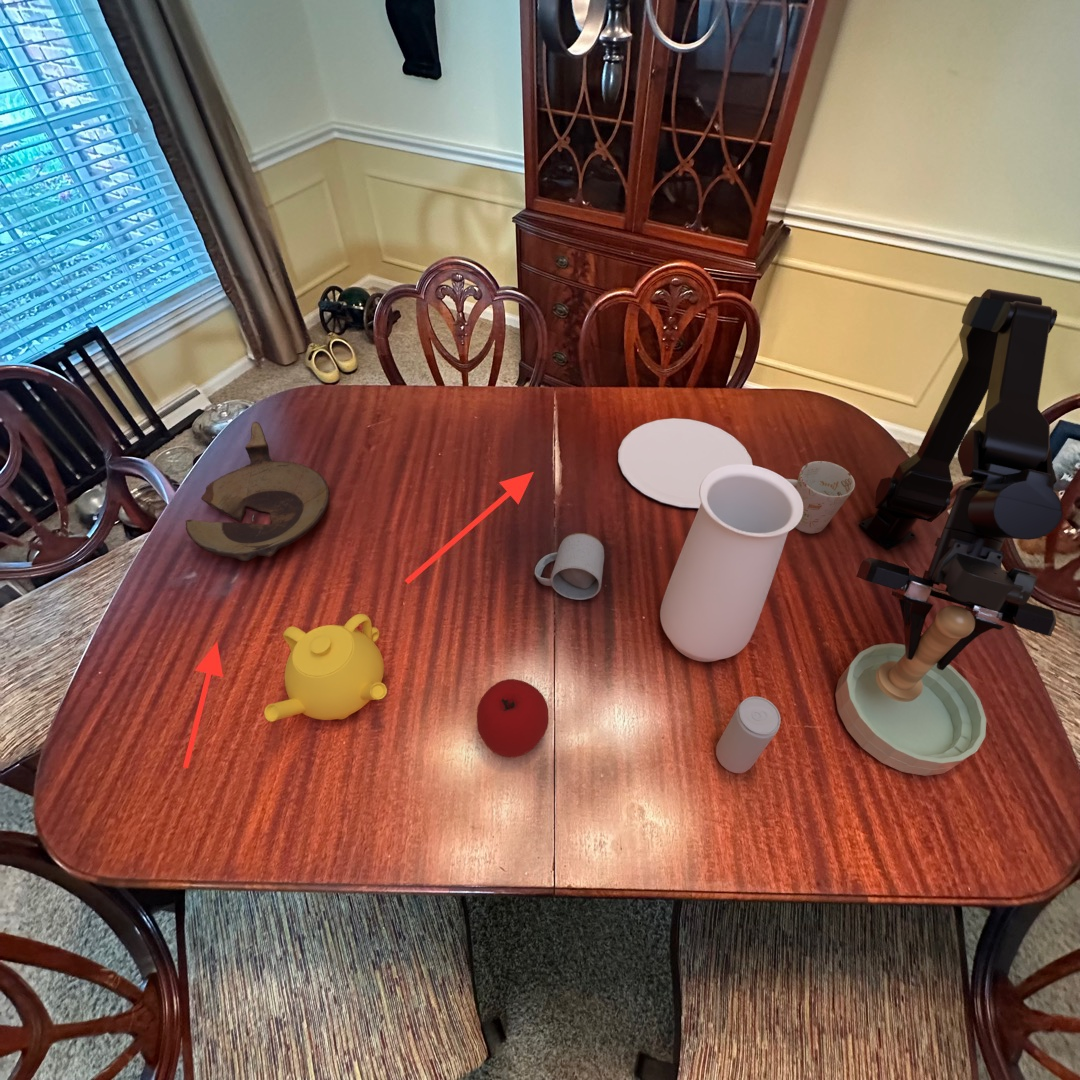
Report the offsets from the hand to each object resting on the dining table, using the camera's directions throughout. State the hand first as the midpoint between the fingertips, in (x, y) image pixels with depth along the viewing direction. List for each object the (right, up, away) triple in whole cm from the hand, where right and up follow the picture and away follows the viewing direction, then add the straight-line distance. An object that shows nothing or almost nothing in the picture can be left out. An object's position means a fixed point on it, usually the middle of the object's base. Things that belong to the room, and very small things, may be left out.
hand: (923, 663), depth 70 cm
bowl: (+3, -9, +10) cm, 14 cm away
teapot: (-72, -7, +12) cm, 73 cm away
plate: (-18, +29, +43) cm, 55 cm away
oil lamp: (-91, +19, +35) cm, 99 cm away
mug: (-1, +18, +34) cm, 38 cm away
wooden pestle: (+1, -4, +6) cm, 7 cm away
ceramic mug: (-40, +8, +25) cm, 48 cm away
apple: (-48, -11, +9) cm, 50 cm away
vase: (-21, +1, +19) cm, 28 cm away
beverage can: (-20, -13, +7) cm, 25 cm away
